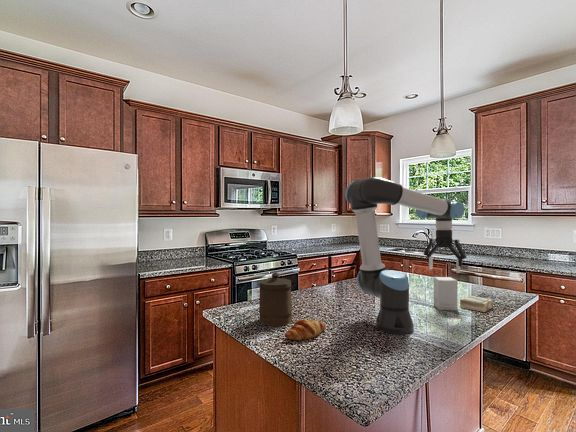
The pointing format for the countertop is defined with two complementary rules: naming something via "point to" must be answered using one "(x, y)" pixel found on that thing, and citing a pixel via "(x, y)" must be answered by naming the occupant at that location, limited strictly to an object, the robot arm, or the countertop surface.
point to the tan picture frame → (476, 303)
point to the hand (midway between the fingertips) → (444, 270)
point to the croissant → (305, 329)
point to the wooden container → (275, 301)
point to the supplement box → (445, 293)
